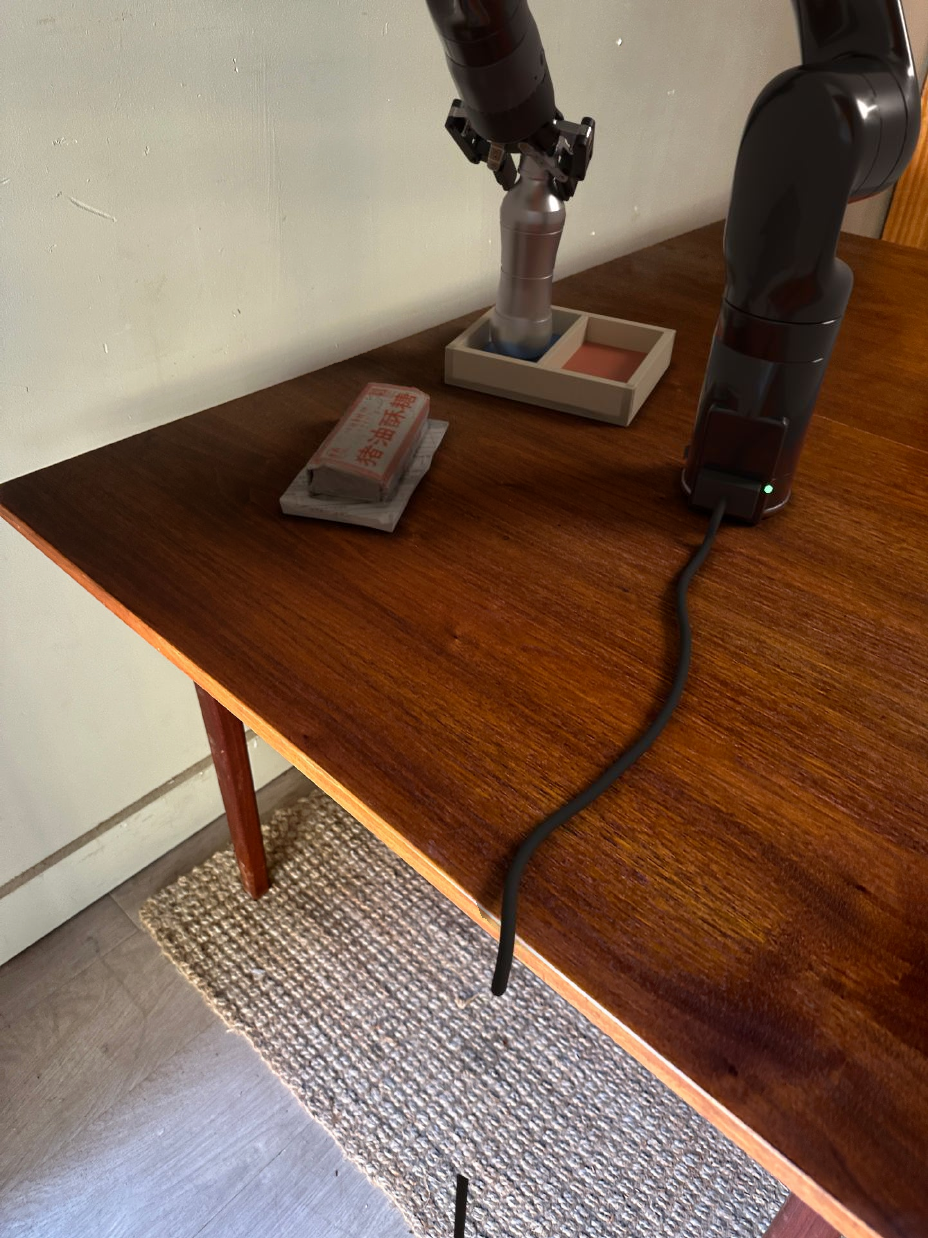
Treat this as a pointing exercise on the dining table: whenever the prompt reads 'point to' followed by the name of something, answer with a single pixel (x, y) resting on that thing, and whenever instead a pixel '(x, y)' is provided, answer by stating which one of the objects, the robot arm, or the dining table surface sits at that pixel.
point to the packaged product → (369, 460)
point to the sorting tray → (568, 365)
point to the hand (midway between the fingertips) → (539, 187)
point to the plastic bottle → (527, 262)
